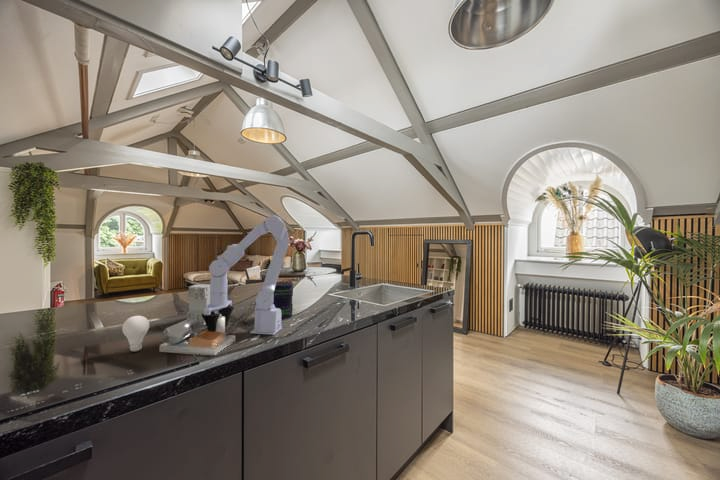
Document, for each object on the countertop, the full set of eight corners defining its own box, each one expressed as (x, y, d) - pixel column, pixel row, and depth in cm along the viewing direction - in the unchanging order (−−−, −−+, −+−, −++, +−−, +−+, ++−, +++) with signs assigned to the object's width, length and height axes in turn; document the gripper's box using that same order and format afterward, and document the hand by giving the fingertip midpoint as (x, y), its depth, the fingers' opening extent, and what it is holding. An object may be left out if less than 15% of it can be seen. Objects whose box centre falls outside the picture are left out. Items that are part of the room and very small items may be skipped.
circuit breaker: (224, 315, 131) (225, 282, 131) (204, 325, 117) (205, 287, 117) (208, 314, 132) (209, 281, 132) (187, 324, 118) (187, 286, 117)
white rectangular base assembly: (235, 341, 100) (235, 319, 100) (214, 355, 88) (214, 330, 88) (186, 338, 102) (186, 316, 102) (159, 351, 90) (159, 327, 90)
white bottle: (227, 332, 109) (227, 313, 109) (220, 336, 105) (220, 316, 104) (216, 331, 109) (216, 312, 109) (208, 335, 105) (209, 315, 105)
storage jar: (275, 313, 137) (276, 281, 137) (295, 314, 136) (296, 282, 135) (265, 319, 127) (266, 284, 127) (287, 320, 126) (288, 285, 126)
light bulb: (127, 357, 85) (127, 320, 85) (118, 352, 89) (118, 316, 88) (153, 350, 91) (153, 315, 90) (143, 345, 94) (143, 312, 94)
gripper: (220, 288, 114) (219, 323, 115) (195, 296, 100) (194, 335, 100) (237, 289, 114) (236, 324, 114) (214, 297, 99) (214, 336, 99)
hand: (218, 329), depth 107 cm, fingers open, 7 cm apart
